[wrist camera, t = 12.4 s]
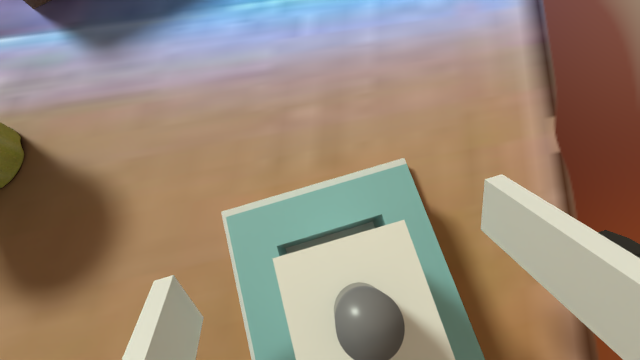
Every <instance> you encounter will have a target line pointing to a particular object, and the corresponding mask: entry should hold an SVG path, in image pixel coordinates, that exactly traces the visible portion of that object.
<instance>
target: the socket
mask: <svg viewBox="0 0 640 360" xmlns="http://www.w3.org/2000/svg"><path fill="white" fill-rule="evenodd" d="M221 213H222V218H223V222H224V227H225V232H226V237H227V242H228V247H229V252H230V257H231V261H232V266H233V271H234V276H235V281H236V286H237V291H238V295H239V300H240V305H241V310H242V315H243V320H244V325H245V330H246V334H247V339H248V344H249V349H250V354H251V359H252V360H296V358H295V353H294V349H293V345H292V341H291V336H290V332H289V328H288V323H287V319H286V315H285V310H284V306H283V302H282V297H281V293H280V289H279V285H278V280H277V276H276V272H275V267H274V263H273V259H272V258H276V257H279V256H282V255H286V254H289V253H293V252H296V251H299V250H303V249H306V248H310V247H313V246H316V245H320V244H323V243H327V242H330V241H333V240H337V239H340V238H344V237H347V236H350V235H354V234H357V233H361V232H364V231H367V230H371V229H374V228H378V227H381V226H384V225H388V224H391V223H395V222H398V221H401V220H405V223H406V226H407V229H408V231H409V234H410V237H411V240H412V242H413V245H414V248H415V250H416V253H417V256H418V259H419V261H420V264H421V267H422V270H423V272H424V275H425V278H426V281H427V283H428V286H429V289H430V292H431V294H432V297H433V300H434V302H435V305H436V308H437V311H438V313H439V316H440V319H441V322H442V324H443V327H444V330H445V333H446V335H447V338H448V341H449V344H450V346H451V349H452V352H453V354H454V357H455V360H485V358H484V356H483V353H482V351H481V348H480V346H479V343H478V341H477V338H476V336H475V333H474V331H473V328H472V326H471V323H470V321H469V318H468V316H467V313H466V311H465V308H464V306H463V303H462V301H461V298H460V296H459V293H458V291H457V288H456V286H455V283H454V281H453V278H452V276H451V273H450V271H449V268H448V266H447V263H446V261H445V258H444V256H443V253H442V251H441V248H440V246H439V243H438V241H437V238H436V236H435V233H434V231H433V228H432V226H431V223H430V221H429V218H428V216H427V213H426V211H425V208H424V206H423V203H422V201H421V198H420V196H419V193H418V191H417V188H416V186H415V184H414V181H413V179H412V176H411V174H410V171H409V169H408V166H407V164H406V161H405V159H404V158H402V159H399V160H395V161H392V162H388V163H385V164H382V165H378V166H375V167H372V168H368V169H365V170H361V171H358V172H355V173H351V174H348V175H344V176H341V177H338V178H334V179H331V180H327V181H324V182H321V183H317V184H314V185H310V186H307V187H304V188H300V189H297V190H294V191H290V192H287V193H283V194H280V195H277V196H273V197H270V198H266V199H263V200H260V201H256V202H253V203H249V204H246V205H243V206H239V207H236V208H232V209H229V210H226V211H222V212H221Z"/></svg>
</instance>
